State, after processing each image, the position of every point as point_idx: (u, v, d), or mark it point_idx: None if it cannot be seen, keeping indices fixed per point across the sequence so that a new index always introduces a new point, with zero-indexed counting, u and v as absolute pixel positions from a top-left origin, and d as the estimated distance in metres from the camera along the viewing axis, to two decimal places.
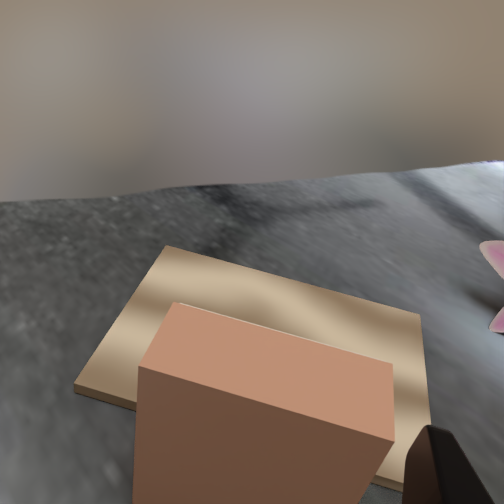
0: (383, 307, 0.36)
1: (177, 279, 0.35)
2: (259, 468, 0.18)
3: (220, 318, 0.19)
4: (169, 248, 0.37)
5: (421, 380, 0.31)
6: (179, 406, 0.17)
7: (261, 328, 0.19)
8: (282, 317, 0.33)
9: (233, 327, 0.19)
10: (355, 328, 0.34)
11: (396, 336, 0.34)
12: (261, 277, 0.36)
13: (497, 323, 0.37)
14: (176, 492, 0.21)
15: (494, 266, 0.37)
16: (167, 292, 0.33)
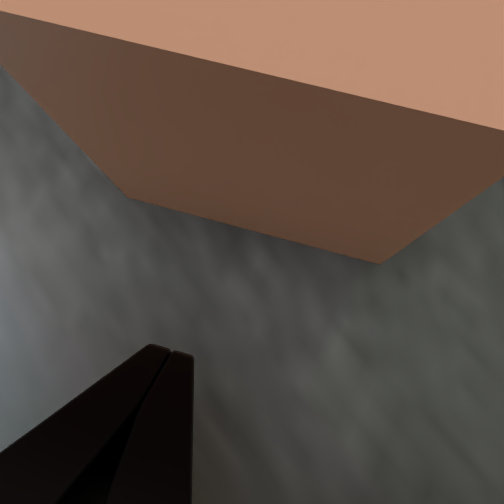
0: None
1: None
2: (264, 170, 0.10)
3: None
4: None
5: None
6: (77, 77, 0.09)
7: None
8: None
9: None
10: None
11: None
12: None
13: None
14: (166, 189, 0.14)
15: None
16: None
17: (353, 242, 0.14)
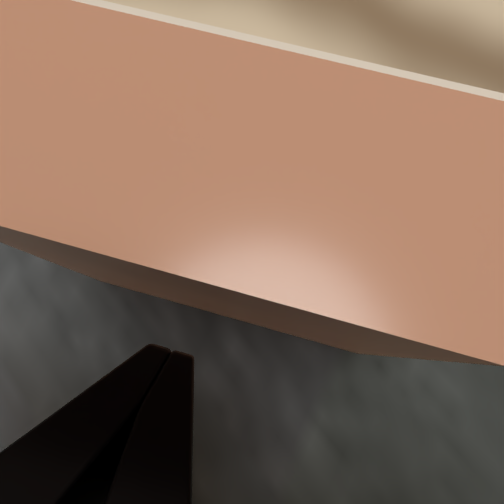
0: None
1: None
2: (225, 305, 0.10)
3: (72, 12, 0.07)
4: None
5: None
6: (18, 240, 0.08)
7: (181, 32, 0.07)
8: None
9: (104, 38, 0.07)
10: None
11: None
12: None
13: None
14: (134, 287, 0.14)
15: None
16: None
17: (327, 342, 0.14)
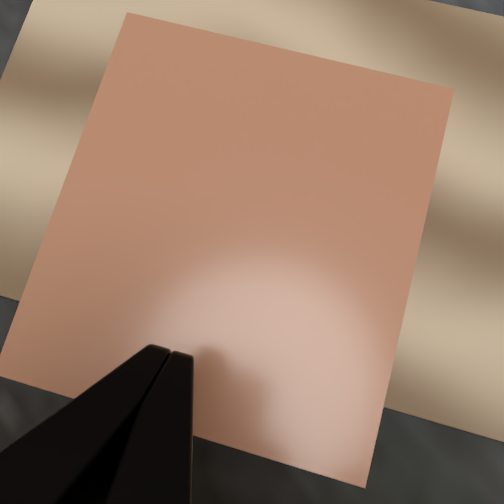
0: None
1: (89, 13, 0.17)
2: (266, 187, 0.12)
3: None
4: None
5: None
6: (165, 76, 0.13)
7: None
8: None
9: None
10: None
11: None
12: None
13: None
14: (105, 296, 0.12)
15: None
16: (69, 49, 0.17)
17: (331, 381, 0.11)
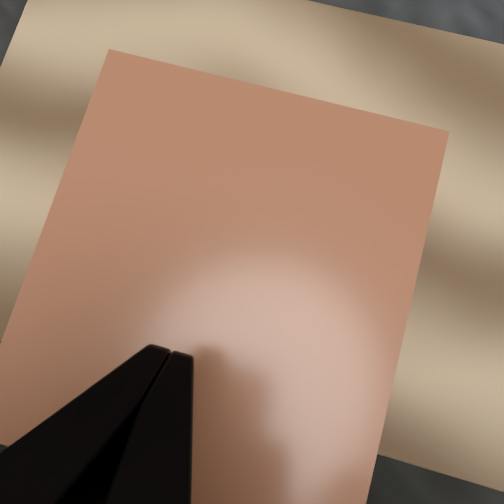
0: None
1: (74, 39, 0.17)
2: (253, 236, 0.12)
3: None
4: None
5: None
6: (148, 117, 0.12)
7: None
8: None
9: None
10: (442, 125, 0.16)
11: None
12: (251, 6, 0.17)
13: None
14: (84, 351, 0.11)
15: None
16: (54, 77, 0.17)
17: (319, 443, 0.11)
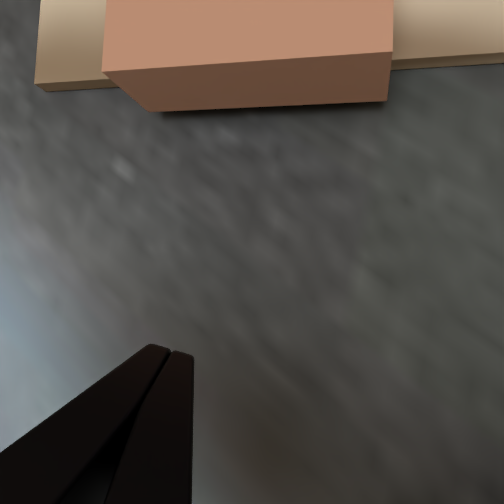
0: None
1: None
2: None
3: None
4: None
5: None
6: None
7: None
8: None
9: None
10: None
11: None
12: None
13: None
14: None
15: None
16: None
17: None
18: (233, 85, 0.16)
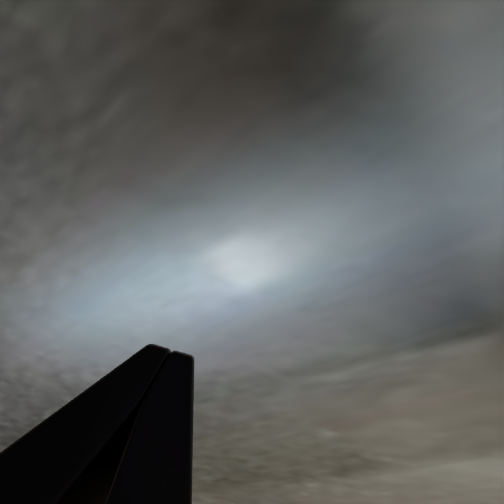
0: None
1: None
2: None
3: None
4: None
5: None
6: None
7: None
8: None
9: None
10: None
11: None
12: None
13: None
14: None
15: None
16: None
17: None
18: None
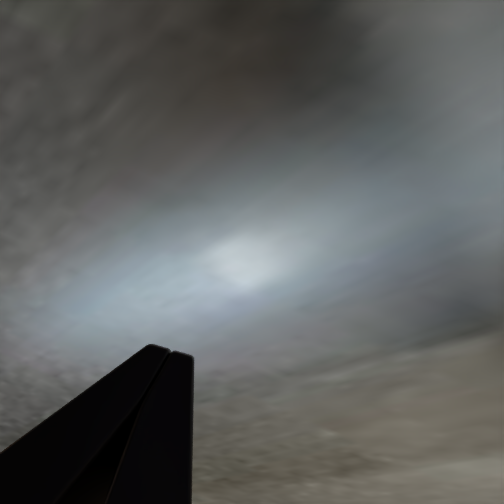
0: None
1: None
2: None
3: None
4: None
5: None
6: None
7: None
8: None
9: None
10: None
11: None
12: None
13: None
14: None
15: None
16: None
17: None
18: None
